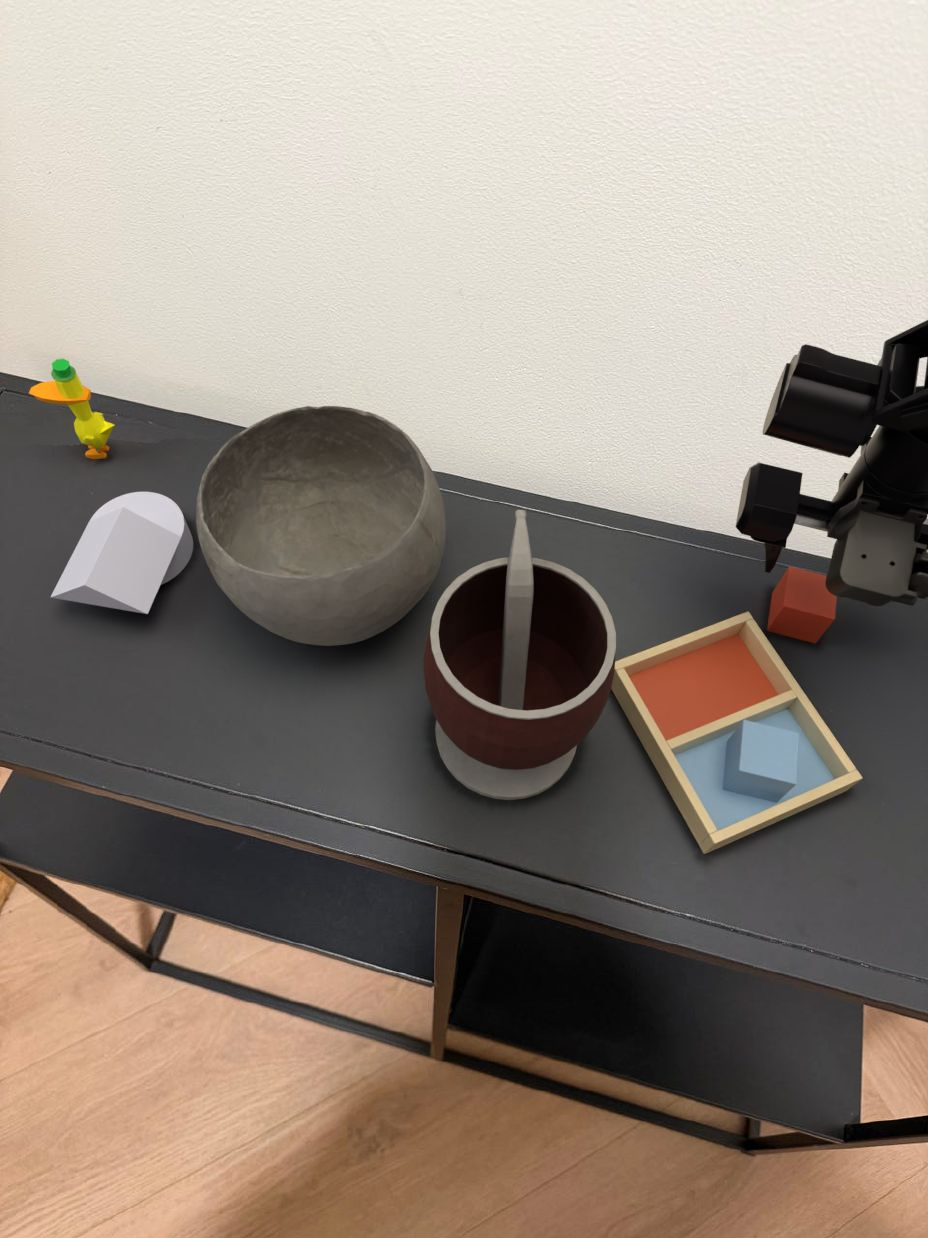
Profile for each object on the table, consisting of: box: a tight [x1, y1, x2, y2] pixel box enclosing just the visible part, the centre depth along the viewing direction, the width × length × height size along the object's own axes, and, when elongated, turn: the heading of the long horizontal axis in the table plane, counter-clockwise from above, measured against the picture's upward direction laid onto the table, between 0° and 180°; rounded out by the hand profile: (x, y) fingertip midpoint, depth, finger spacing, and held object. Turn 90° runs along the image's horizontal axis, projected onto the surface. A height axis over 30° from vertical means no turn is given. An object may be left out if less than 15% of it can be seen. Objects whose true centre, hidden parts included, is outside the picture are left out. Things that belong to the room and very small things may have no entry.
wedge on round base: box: [50, 491, 194, 615], centre depth 77 cm, size 9×7×13 cm
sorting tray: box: [611, 611, 863, 855], centre depth 71 cm, size 14×17×3 cm
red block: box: [766, 566, 838, 645], centre depth 77 cm, size 4×4×4 cm
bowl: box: [195, 405, 447, 647], centre depth 73 cm, size 20×20×15 cm
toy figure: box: [28, 358, 115, 460], centre depth 82 cm, size 7×4×12 cm, turn 87°
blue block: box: [723, 720, 799, 802], centre depth 68 cm, size 4×4×4 cm
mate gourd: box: [422, 509, 617, 801], centre depth 64 cm, size 16×14×20 cm
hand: (820, 582), depth 73 cm, fingers open, 9 cm apart
